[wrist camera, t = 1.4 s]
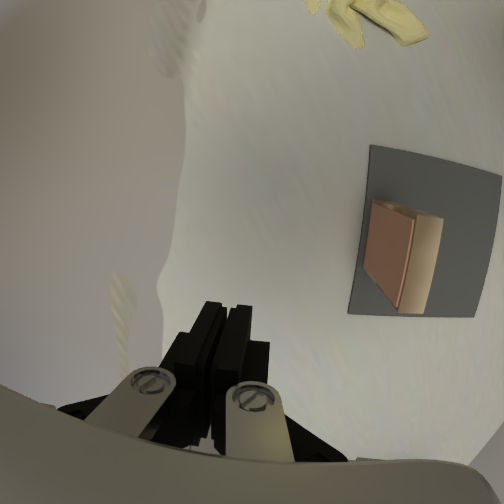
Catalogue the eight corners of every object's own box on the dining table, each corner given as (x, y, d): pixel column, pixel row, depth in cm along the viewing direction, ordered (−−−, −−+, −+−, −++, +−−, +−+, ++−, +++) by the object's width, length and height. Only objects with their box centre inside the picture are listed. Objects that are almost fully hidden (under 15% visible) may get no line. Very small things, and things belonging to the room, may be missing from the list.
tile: (392, 201, 32) (443, 218, 20) (382, 269, 34) (423, 313, 22) (371, 198, 32) (414, 214, 20) (361, 267, 34) (395, 312, 23)
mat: (500, 176, 30) (502, 176, 29) (472, 315, 35) (474, 317, 34) (369, 145, 31) (371, 144, 30) (347, 312, 36) (348, 314, 36)
